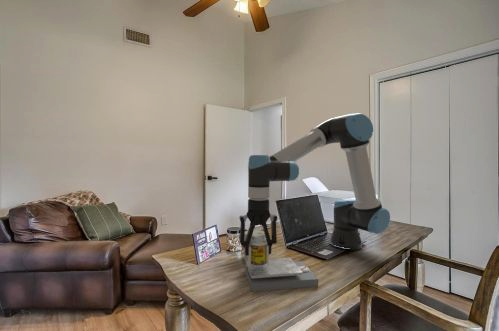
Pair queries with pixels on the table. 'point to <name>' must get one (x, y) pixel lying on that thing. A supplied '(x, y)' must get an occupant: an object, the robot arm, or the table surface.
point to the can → (252, 239)
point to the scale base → (283, 280)
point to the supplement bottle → (258, 250)
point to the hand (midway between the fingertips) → (257, 263)
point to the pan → (275, 268)
